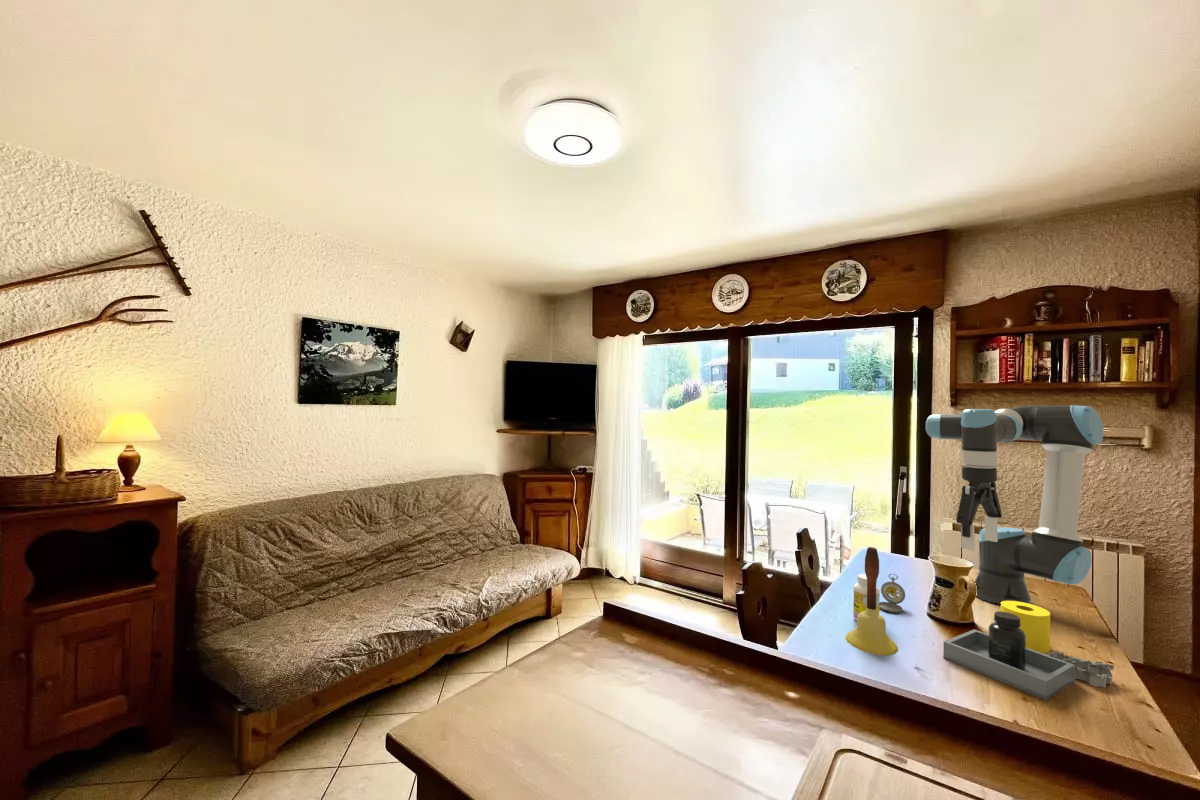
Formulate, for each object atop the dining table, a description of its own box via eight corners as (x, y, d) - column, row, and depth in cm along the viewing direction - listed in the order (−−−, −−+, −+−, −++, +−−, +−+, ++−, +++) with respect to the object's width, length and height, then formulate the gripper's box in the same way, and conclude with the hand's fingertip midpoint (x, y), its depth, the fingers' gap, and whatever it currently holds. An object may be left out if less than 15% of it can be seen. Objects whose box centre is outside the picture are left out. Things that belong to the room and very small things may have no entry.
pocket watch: (882, 612, 149) (882, 579, 149) (872, 602, 158) (872, 570, 158) (911, 615, 148) (912, 581, 148) (900, 604, 156) (900, 572, 156)
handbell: (842, 629, 137) (843, 539, 138) (892, 637, 133) (893, 544, 134) (848, 649, 126) (849, 551, 126) (903, 659, 122) (904, 557, 122)
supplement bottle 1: (851, 614, 148) (852, 571, 148) (876, 618, 145) (877, 574, 145) (855, 623, 141) (855, 578, 141) (881, 627, 139) (881, 582, 139)
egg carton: (1117, 684, 113) (1117, 666, 113) (1100, 691, 110) (1100, 672, 110) (1058, 661, 122) (1059, 644, 122) (1042, 667, 119) (1042, 650, 119)
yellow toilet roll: (1016, 633, 137) (1017, 599, 137) (1059, 650, 128) (1059, 613, 128) (991, 637, 134) (991, 602, 134) (1032, 655, 125) (1033, 618, 125)
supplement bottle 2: (1002, 657, 122) (1003, 608, 122) (1033, 671, 115) (1033, 620, 115) (981, 660, 120) (981, 610, 120) (1010, 675, 113) (1011, 622, 114)
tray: (973, 644, 130) (974, 629, 130) (1074, 682, 112) (1074, 664, 112) (943, 657, 123) (943, 641, 123) (1046, 700, 105) (1046, 681, 105)
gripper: (983, 461, 143) (984, 534, 143) (940, 468, 130) (941, 548, 130) (1015, 464, 136) (1016, 540, 136) (973, 471, 123) (974, 556, 123)
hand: (979, 544), depth 133 cm, fingers open, 13 cm apart
